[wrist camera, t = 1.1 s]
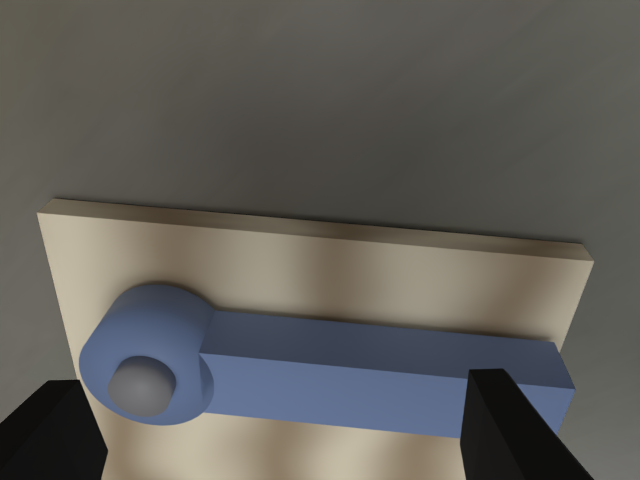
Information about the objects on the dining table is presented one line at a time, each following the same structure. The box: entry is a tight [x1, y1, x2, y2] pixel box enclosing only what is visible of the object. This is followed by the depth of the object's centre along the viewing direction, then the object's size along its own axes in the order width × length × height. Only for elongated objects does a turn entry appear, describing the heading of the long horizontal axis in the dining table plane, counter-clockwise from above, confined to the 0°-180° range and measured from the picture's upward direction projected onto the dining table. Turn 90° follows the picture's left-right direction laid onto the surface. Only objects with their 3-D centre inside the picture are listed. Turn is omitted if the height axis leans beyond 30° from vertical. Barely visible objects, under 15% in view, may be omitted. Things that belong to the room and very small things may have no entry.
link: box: [79, 284, 576, 438], centre depth 20 cm, size 18×5×3 cm, turn 87°
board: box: [37, 199, 594, 480], centre depth 24 cm, size 20×20×1 cm
